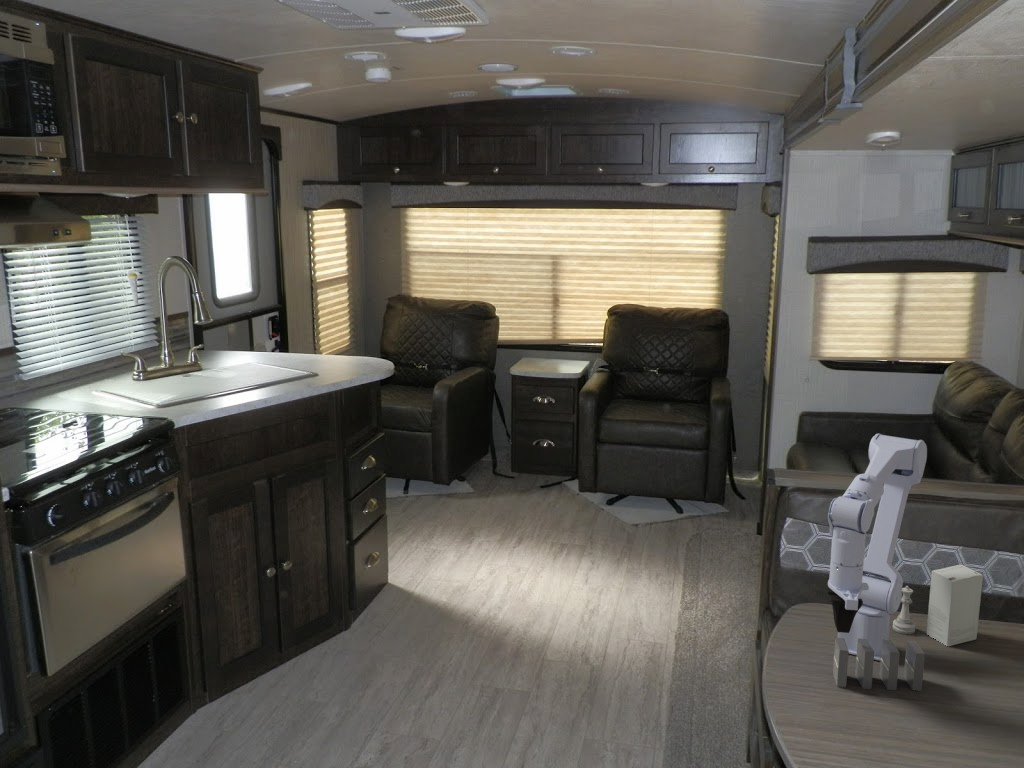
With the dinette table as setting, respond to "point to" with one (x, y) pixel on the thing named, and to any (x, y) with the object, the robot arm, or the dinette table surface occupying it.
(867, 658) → the domino
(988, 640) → the dinette table surface
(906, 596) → the chess piece
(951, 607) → the skincare box
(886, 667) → the domino
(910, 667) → the domino
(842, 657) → the domino
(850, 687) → the dinette table surface
